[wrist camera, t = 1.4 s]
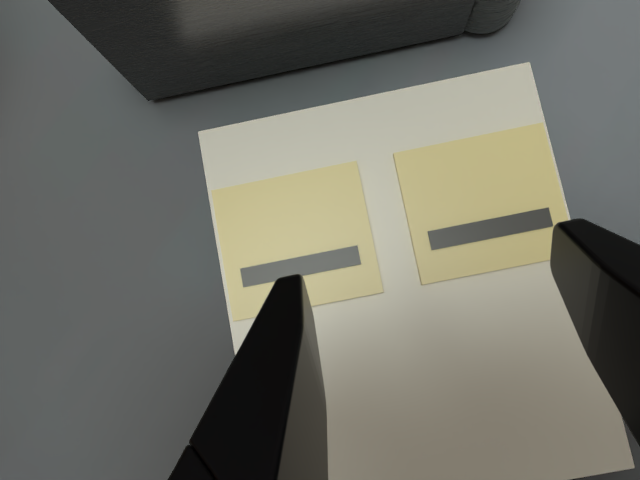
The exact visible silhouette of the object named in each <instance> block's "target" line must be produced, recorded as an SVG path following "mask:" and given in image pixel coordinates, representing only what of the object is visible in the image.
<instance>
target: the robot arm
mask: <svg viewBox="0 0 640 480" xmlns="http://www.w3.org/2000/svg"><path fill="white" fill-rule="evenodd" d="M550 268H551V272H552V276H553V278H554V280H555V283H556V285H557V287H558V290H559V292H560V294H561V297H562V299H563V301H564V304H565V306H566V308H567V311H568V313H569V315H570V318H571V320H572V322H573V325H574V327H575V329H576V332H577V334H578V336H579V339H580V341H581V343H582V345H583V348H584V350H585V352H586V354H587V356H588V358H589V360H590V361H591V363H592V365H593V367H594V369H595V370H596V372H597V374H598V376H599V377H600V379H601V381H602V383H603V384H604V386H605V388H606V389H607V391H608V393H609V395H610V396H611V398H612V400H613V402H614V403H615V405H616V407H617V408H618V410H619V412H620V414H621V415H622V417H623V419H624V420H625V422H626V424H627V426H628V427H629V429H630V431H631V433H632V434H633V436H634V438H635V439H636V441H637V443H638V445H639V446H640V245H639V244H637V243H634V242H632V241H630V240H628V239H626V238H624V237H622V236H619V235H617V234H615V233H613V232H611V231H609V230H606V229H604V228H602V227H600V226H598V225H596V224H593V223H591V222H589V221H587V220H584V219H581V218H578V219H572V220H567V221H562V222H558V223H557V224H556V225H555V226H554V228H553V233H552V244H551V255H550ZM189 443H190V445H187V446H186V447H185V449H184V451H183V453H182V455H181V457H180V459H179V461H178V462H177V464H176V466H175V468H174V470H173V471H172V473H171V475H170V477H169V478H168V480H328V447H327V410H326V397H325V388H324V382H323V375H322V368H321V362H320V355H319V348H318V342H317V335H316V328H315V322H314V316H313V311H312V307H311V304H310V300H309V296H308V292H307V289H306V285H305V281H304V278H303V276H302V275H301V274H293V275H288V276H283V277H280V278H278V279H277V280H276V281H275V283H274V285H273V287H272V289H271V291H270V292H269V294H268V296H267V298H266V300H265V302H264V304H263V305H262V307H261V309H260V311H259V313H258V315H257V316H256V318H255V320H254V322H253V324H252V326H251V328H250V329H249V331H248V333H247V335H246V337H245V339H244V341H243V342H242V344H241V346H240V348H239V350H238V352H237V354H236V355H235V357H234V359H233V361H232V363H231V365H230V367H229V368H228V370H227V372H226V374H225V376H224V378H223V380H222V381H221V383H220V385H219V387H218V389H217V391H216V392H215V394H214V396H213V398H212V400H211V402H210V404H209V405H208V407H207V409H206V411H205V413H204V415H203V417H202V418H201V420H200V422H199V424H198V426H197V428H196V430H195V431H194V433H193V435H192V437H191V439H190V441H189Z"/></svg>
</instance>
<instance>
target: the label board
mask: <svg viewBox="0 0 640 480" xmlns="http://www.w3.org/2000/svg"><path fill="white" fill-rule="evenodd" d="M198 135H199V141H200V147H201V153H202V159H203V165H204V171H205V177H206V183H207V189H208V195H209V201H210V207H211V213H212V219H213V225H214V231H215V237H216V243H217V249H218V255H219V261H220V267H221V273H222V279H223V285H224V291H225V297H226V303H227V309H228V315H229V321H230V327H231V333H232V339H233V345H234V352H235V355H236V354H237V352H238V350H239V348H240V346H241V344H242V342H243V341H244V339H245V337H246V335H247V333H248V331H249V329H250V328H251V326H252V324H253V322H254V320H255V318H256V316H257V315H258V313H259V311H260V309H261V307H262V305H263V304H264V302H265V300H266V298H267V296H268V294H269V292H270V291H271V289H272V287H273V285H274V283H275V281H276V280H277V279H278V278H280V277H283V276H288V275H293V274H301V275H302V276H303V278H304V281H305V285H306V289H307V292H308V296H309V300H310V304H311V307H312V311H313V316H314V322H315V328H316V335H317V342H318V348H319V355H320V362H321V368H322V375H323V382H324V388H325V397H326V410H327V447H328V480H570V479H576V478H581V477H587V476H593V475H598V474H604V473H610V472H615V471H621V470H627V469H632V468H635V466H634V462H633V458H632V454H631V451H630V447H629V443H628V439H627V435H626V431H625V427H624V424H623V420H622V416H621V414H620V412H619V410H618V408H617V407H616V405H615V403H614V402H613V400H612V398H611V396H610V395H609V393H608V391H607V389H606V388H605V386H604V384H603V383H602V381H601V379H600V377H599V376H598V374H597V372H596V370H595V369H594V367H593V365H592V363H591V361H590V360H589V358H588V356H587V354H586V352H585V350H584V348H583V345H582V343H581V341H580V339H579V336H578V334H577V332H576V329H575V327H574V325H573V322H572V320H571V318H570V315H569V313H568V311H567V308H566V306H565V304H564V301H563V299H562V297H561V294H560V292H559V290H558V287H557V285H556V283H555V280H554V278H553V276H552V272H551V268H550V255H551V244H552V233H553V228H554V226H555V225H556V224H557V223H558V222H562V221H567V220H571V219H570V216H569V212H568V208H567V204H566V200H565V196H564V192H563V189H562V185H561V181H560V177H559V173H558V169H557V165H556V162H555V158H554V154H553V150H552V146H551V142H550V138H549V135H548V131H547V127H546V123H545V119H544V115H543V112H542V108H541V104H540V100H539V96H538V92H537V88H536V85H535V81H534V77H533V73H532V69H531V65H530V62H527V63H522V64H517V65H513V66H508V67H503V68H498V69H494V70H489V71H484V72H479V73H474V74H470V75H465V76H460V77H455V78H451V79H446V80H441V81H436V82H432V83H427V84H422V85H417V86H413V87H408V88H403V89H398V90H394V91H389V92H384V93H379V94H375V95H370V96H365V97H360V98H356V99H351V100H346V101H341V102H337V103H332V104H327V105H322V106H318V107H313V108H308V109H303V110H299V111H294V112H289V113H284V114H279V115H275V116H270V117H265V118H260V119H256V120H251V121H246V122H241V123H237V124H232V125H227V126H222V127H218V128H213V129H208V130H203V131H199V132H198Z"/></svg>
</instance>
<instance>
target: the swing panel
mask: <svg viewBox="0 0 640 480" xmlns="http://www.w3.org/2000/svg"><path fill="white" fill-rule="evenodd" d="M48 1H49V2H50V3H51V4H52V5H53V6H54V7H55V8H56V9H57V10H58V11H59V12H60V13H61V14H62V15H63V16H64V17H65V18H66V19H67V20H68V21H69V22H70V23H71V24H72V25H73V26H74V27H75V28H76V29H77V30H78V31H79V32H80V33H81V34H82V35H83V36H84V37H85V38H86V39H87V40H88V41H89V42H90V43H91V44H92V45H93V46H94V47H95V48H96V49H97V50H98V51H99V52H100V53H101V54H102V55H103V56H104V57H105V58H106V59H107V60H108V61H109V62H110V63H111V64H112V65H113V66H114V67H115V68H116V69H117V70H118V71H119V72H120V73H121V74H122V75H123V76H124V77H125V78H126V79H127V80H128V81H129V82H130V83H131V84H132V85H133V86H134V87H135V88H136V89H137V90H138V91H139V92H140V93H141V94H142V95H143V96H144V97H145V98H146V99H147V100H148V101H150V100H155V99H160V98H164V97H169V96H174V95H178V94H183V93H188V92H192V91H197V90H202V89H206V88H211V87H216V86H220V85H225V84H230V83H235V82H239V81H244V80H249V79H253V78H258V77H263V76H267V75H272V74H277V73H281V72H286V71H291V70H295V69H300V68H305V67H309V66H314V65H319V64H323V63H328V62H333V61H338V60H342V59H347V58H352V57H356V56H361V55H366V54H370V53H375V52H380V51H384V50H389V49H394V48H398V47H403V46H408V45H412V44H417V43H422V42H426V41H431V40H436V39H441V38H445V37H450V36H455V35H459V34H463V32H464V30H465V31H468V32H470V33H475V34H486V33H491V32H494V31H496V30H498V29H500V28H502V27H503V26H504V25H506V24H507V23H508V22H509V20H510V19H511V18H512V16H513V14H514V12H515V10H516V8H517V6H518V4H519V2H520V1H521V0H48Z"/></svg>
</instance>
